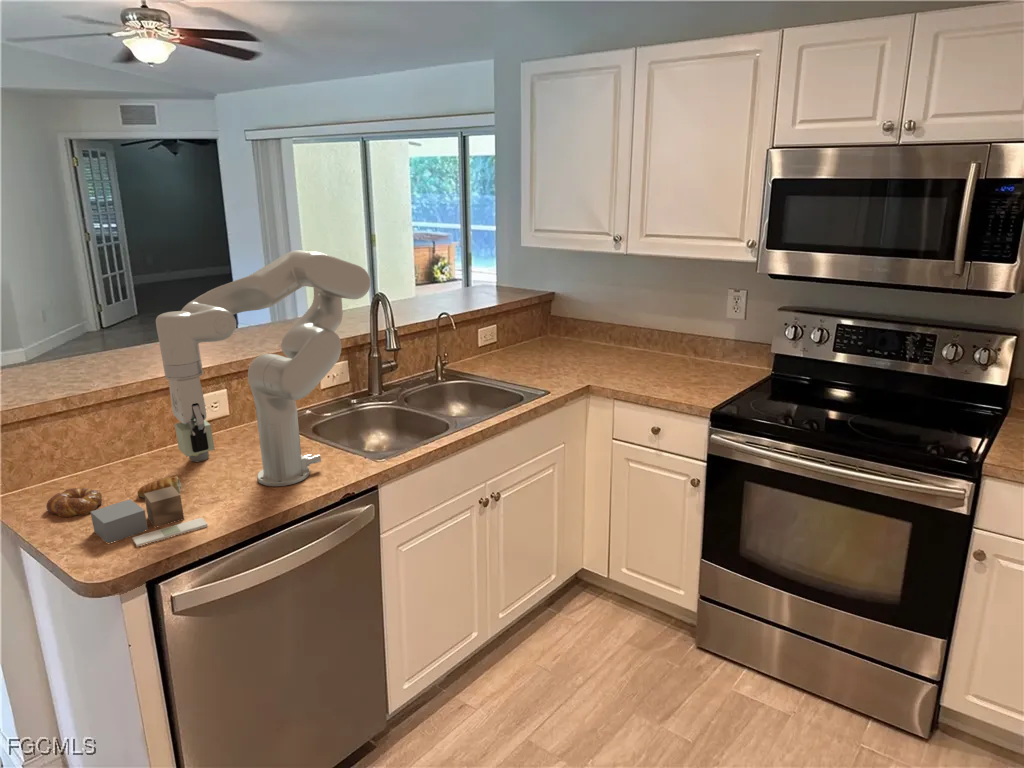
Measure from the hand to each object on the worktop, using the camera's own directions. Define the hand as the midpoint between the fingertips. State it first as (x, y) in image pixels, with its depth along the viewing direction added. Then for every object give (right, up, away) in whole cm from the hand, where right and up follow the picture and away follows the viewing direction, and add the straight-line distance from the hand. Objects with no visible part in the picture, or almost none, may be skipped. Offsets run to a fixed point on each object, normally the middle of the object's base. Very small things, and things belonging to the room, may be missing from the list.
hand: (196, 445), depth 158 cm
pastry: (-13, -13, +12) cm, 22 cm away
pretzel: (-30, -15, +5) cm, 34 cm away
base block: (-13, -18, -6) cm, 23 cm away
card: (-2, -18, -7) cm, 20 cm away
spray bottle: (-13, -7, +32) cm, 35 cm away
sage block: (0, -1, 0) cm, 1 cm away
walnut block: (-6, -16, -1) cm, 17 cm away
